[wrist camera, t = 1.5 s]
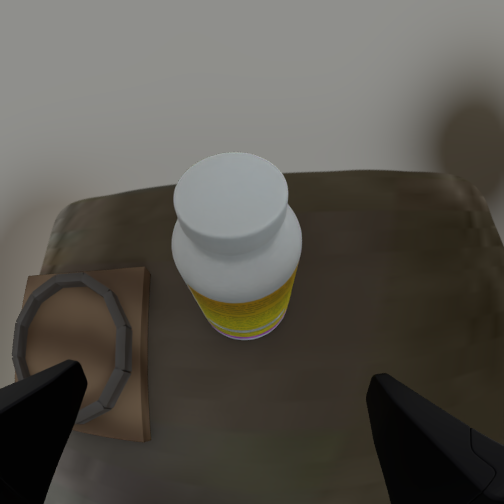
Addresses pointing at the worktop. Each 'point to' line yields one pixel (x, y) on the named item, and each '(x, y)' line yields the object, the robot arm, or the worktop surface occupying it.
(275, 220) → the supplement bottle
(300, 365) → the worktop surface
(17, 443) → the robot arm
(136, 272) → the locating board
